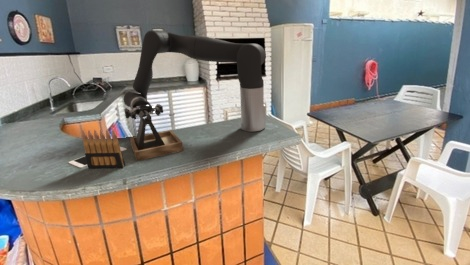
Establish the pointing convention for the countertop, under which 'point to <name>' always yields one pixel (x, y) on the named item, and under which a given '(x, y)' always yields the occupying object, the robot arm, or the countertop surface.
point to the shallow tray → (170, 146)
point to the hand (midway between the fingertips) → (146, 114)
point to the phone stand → (141, 133)
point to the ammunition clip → (103, 151)
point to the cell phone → (84, 160)
